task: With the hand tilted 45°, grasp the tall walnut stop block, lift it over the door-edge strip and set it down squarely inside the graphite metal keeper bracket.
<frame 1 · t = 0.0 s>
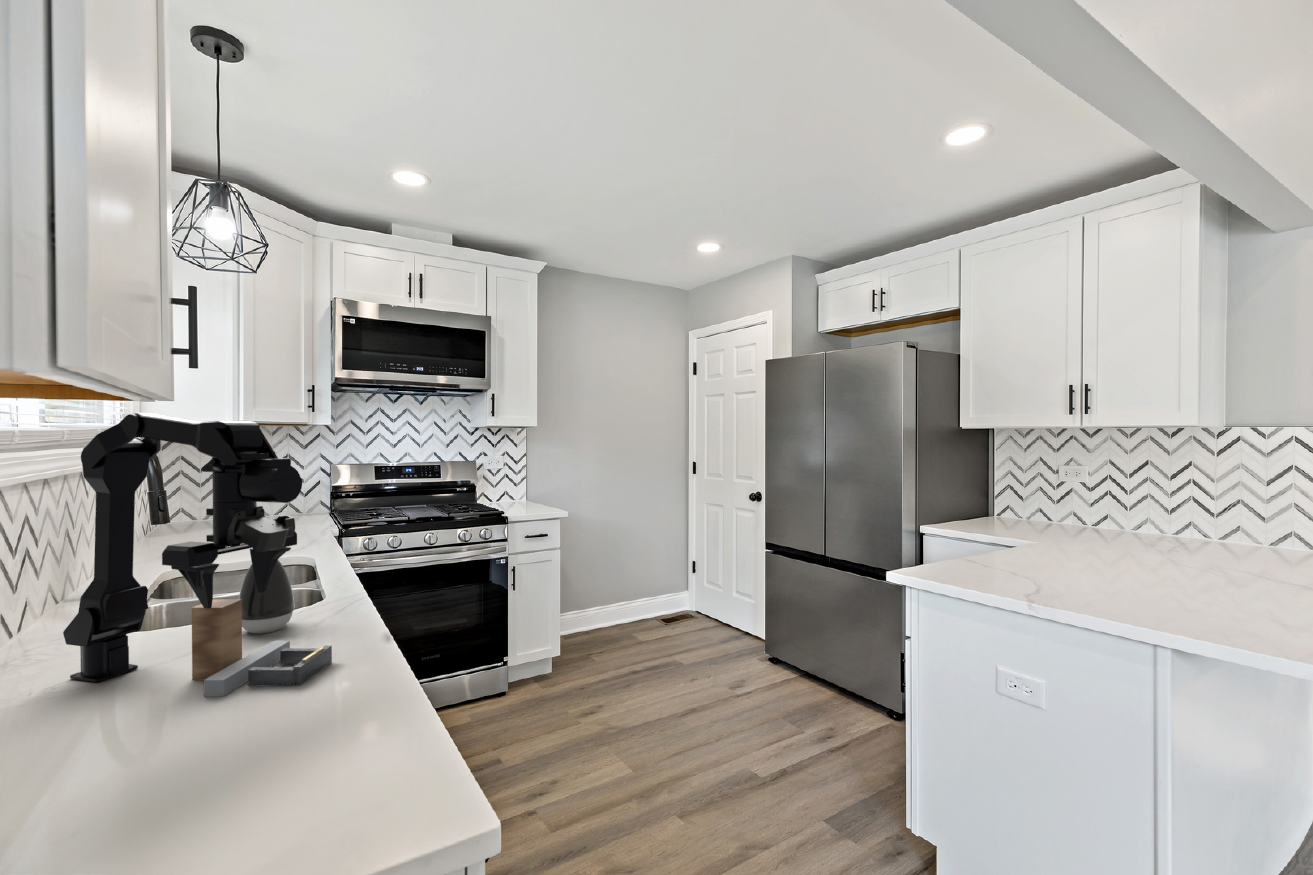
hand: (235, 600, 98), 15 cm above the counter, tool pointing down, fingers open, 9 cm apart
keeper: (286, 673, 106), on the counter
door edge: (250, 673, 106), on the counter
stop block: (217, 673, 106), on the counter
dark grey egg shape: (266, 630, 129), on the counter
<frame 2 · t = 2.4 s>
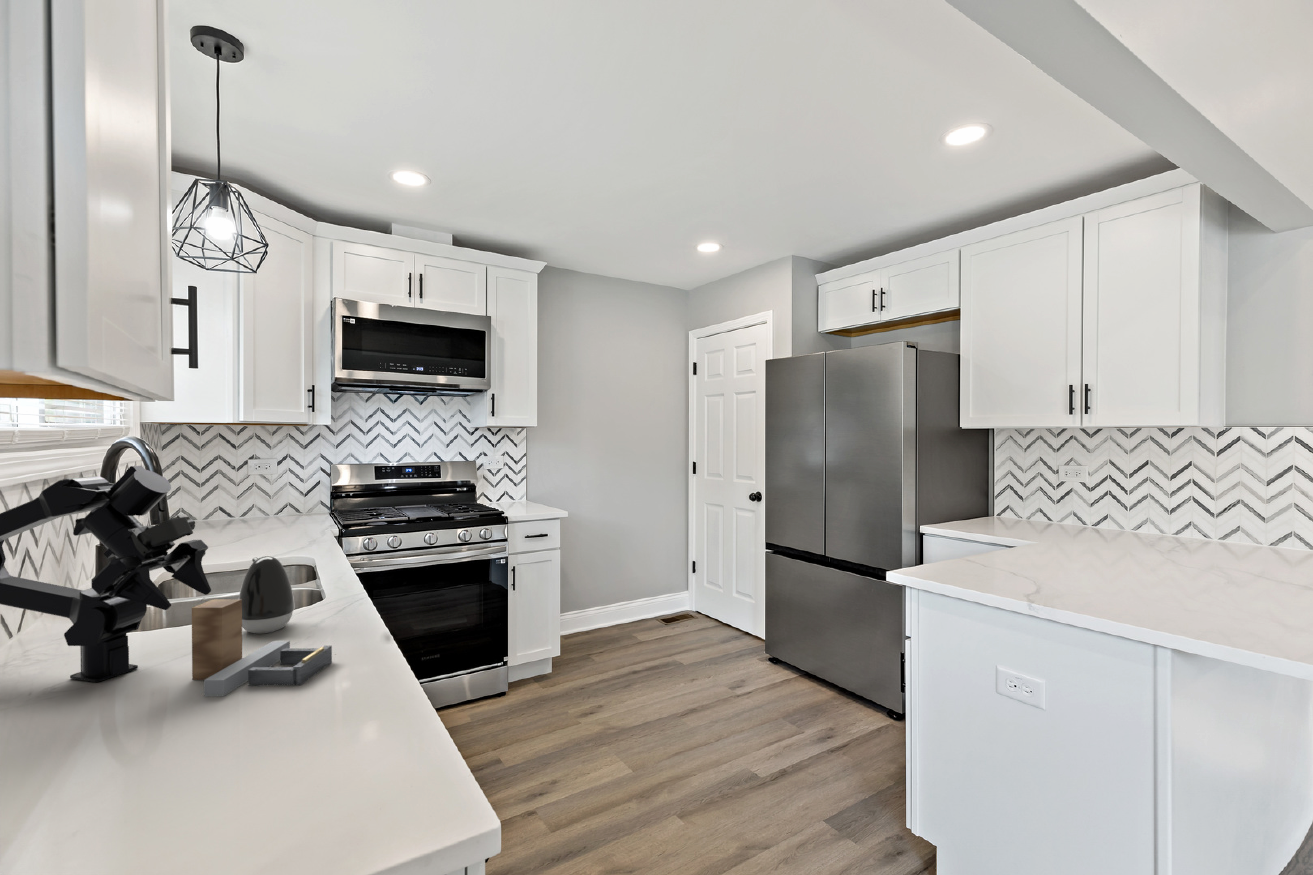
hand: (189, 600, 106), 13 cm above the counter, tool tilted 45°, fingers open, 9 cm apart
nothing on the counter moved.
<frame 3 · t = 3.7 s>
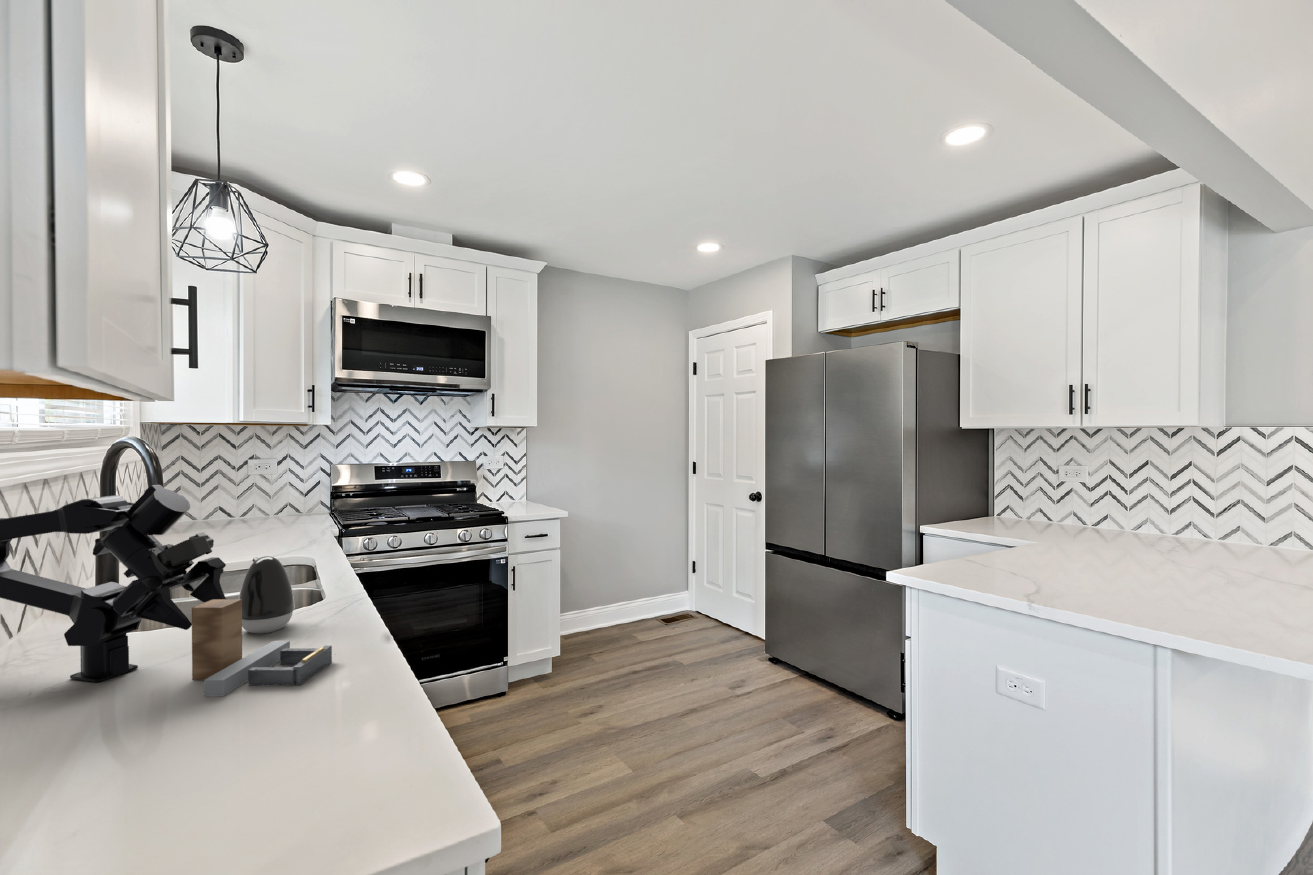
hand: (209, 618, 106), 9 cm above the counter, tool tilted 45°, fingers open, 9 cm apart
nothing on the counter moved.
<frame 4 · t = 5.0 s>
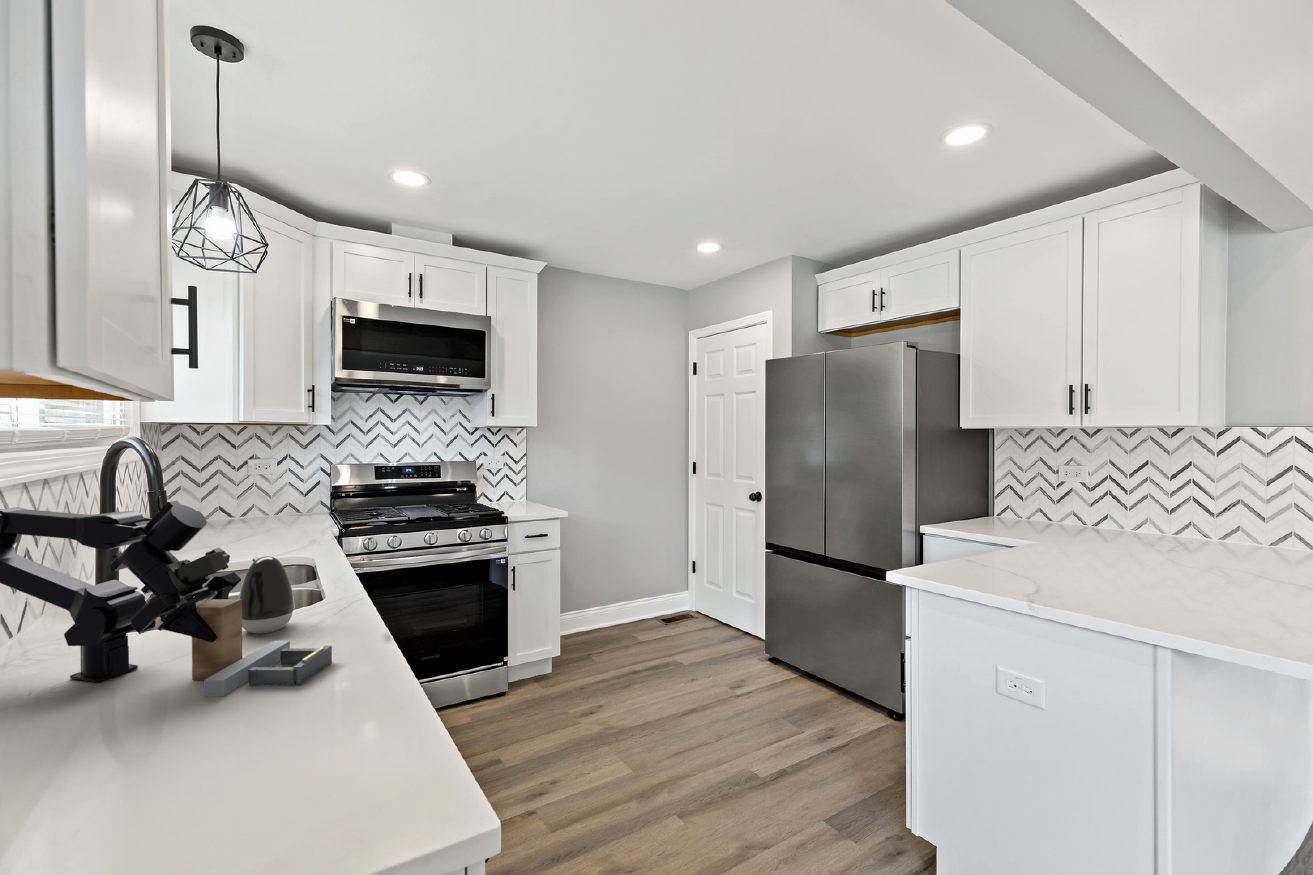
hand: (225, 634, 106), 7 cm above the counter, tool tilted 45°, fingers closed on stop block, 5 cm apart
stop block: (217, 673, 106), on the counter, touching gripper
everything else where it was.
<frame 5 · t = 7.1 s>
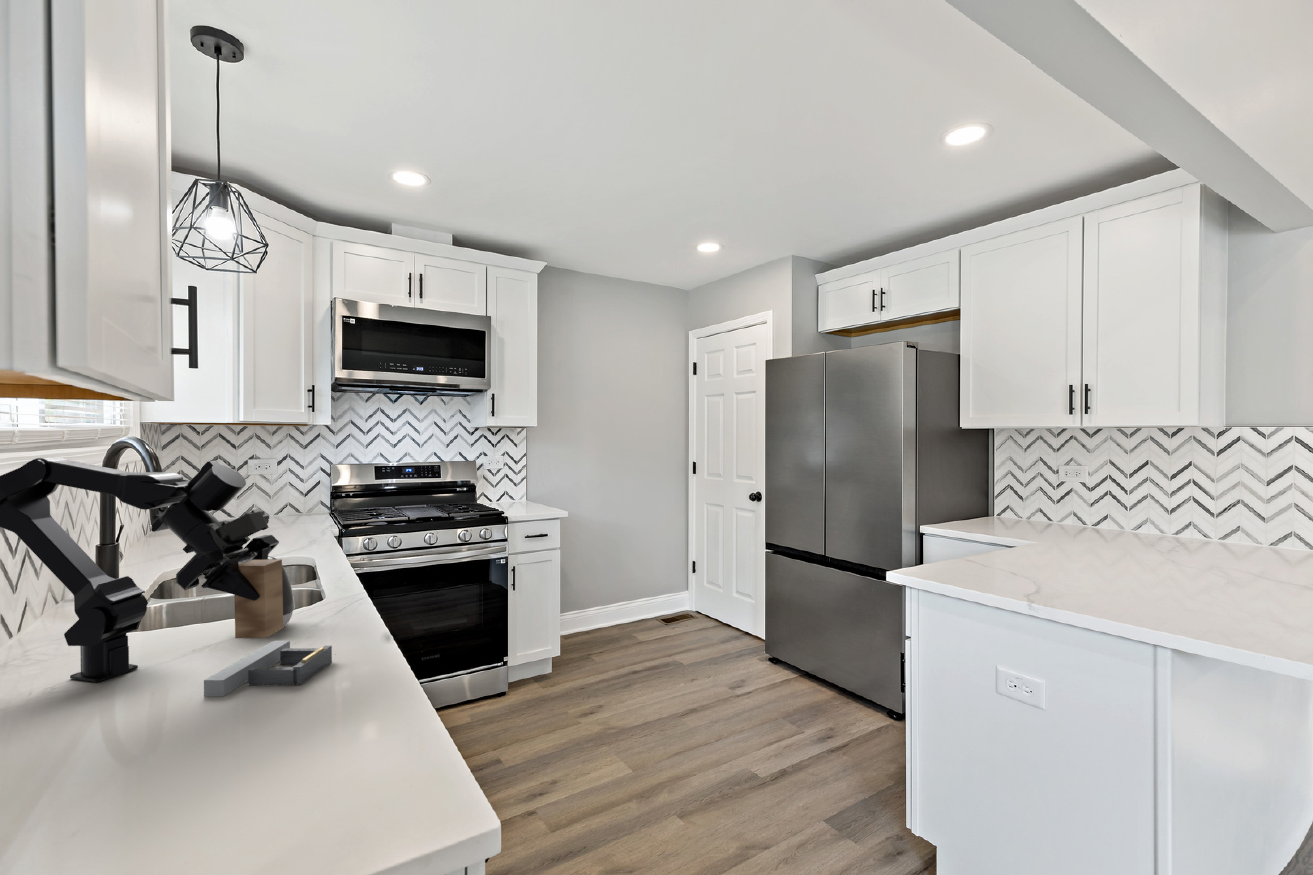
hand: (267, 594, 106), 14 cm above the counter, tool tilted 45°, fingers closed on stop block, 5 cm apart
stop block: (259, 633, 106), point 7 cm above the counter, touching gripper
everything else where it was.
when the fingers open (8 cm above the counter, at t = 9.1 s): stop block drops 1 cm, on the counter.
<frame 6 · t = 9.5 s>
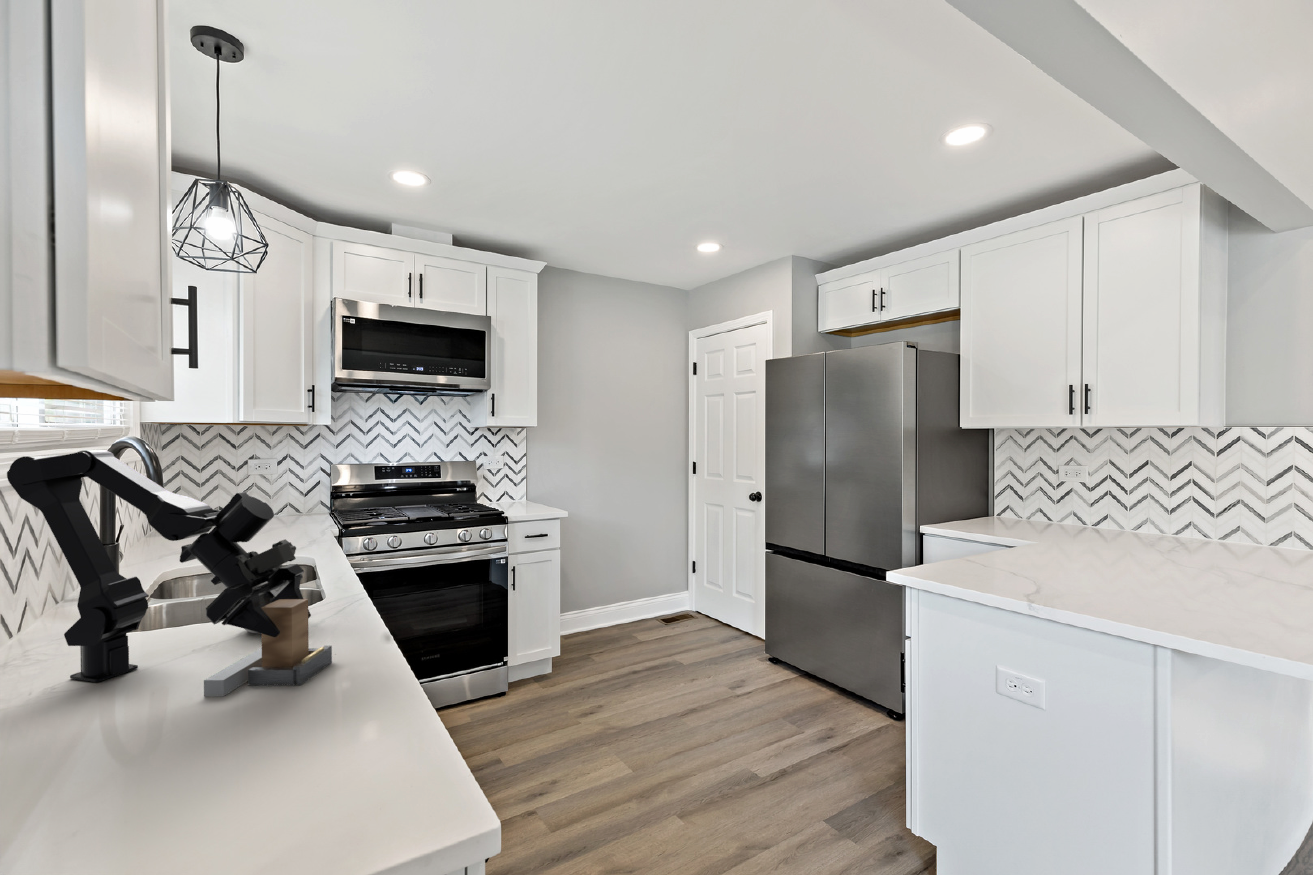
hand: (294, 626, 106), 8 cm above the counter, tool tilted 45°, fingers open, 9 cm apart
stop block: (285, 673, 106), on the counter
everything else where it was.
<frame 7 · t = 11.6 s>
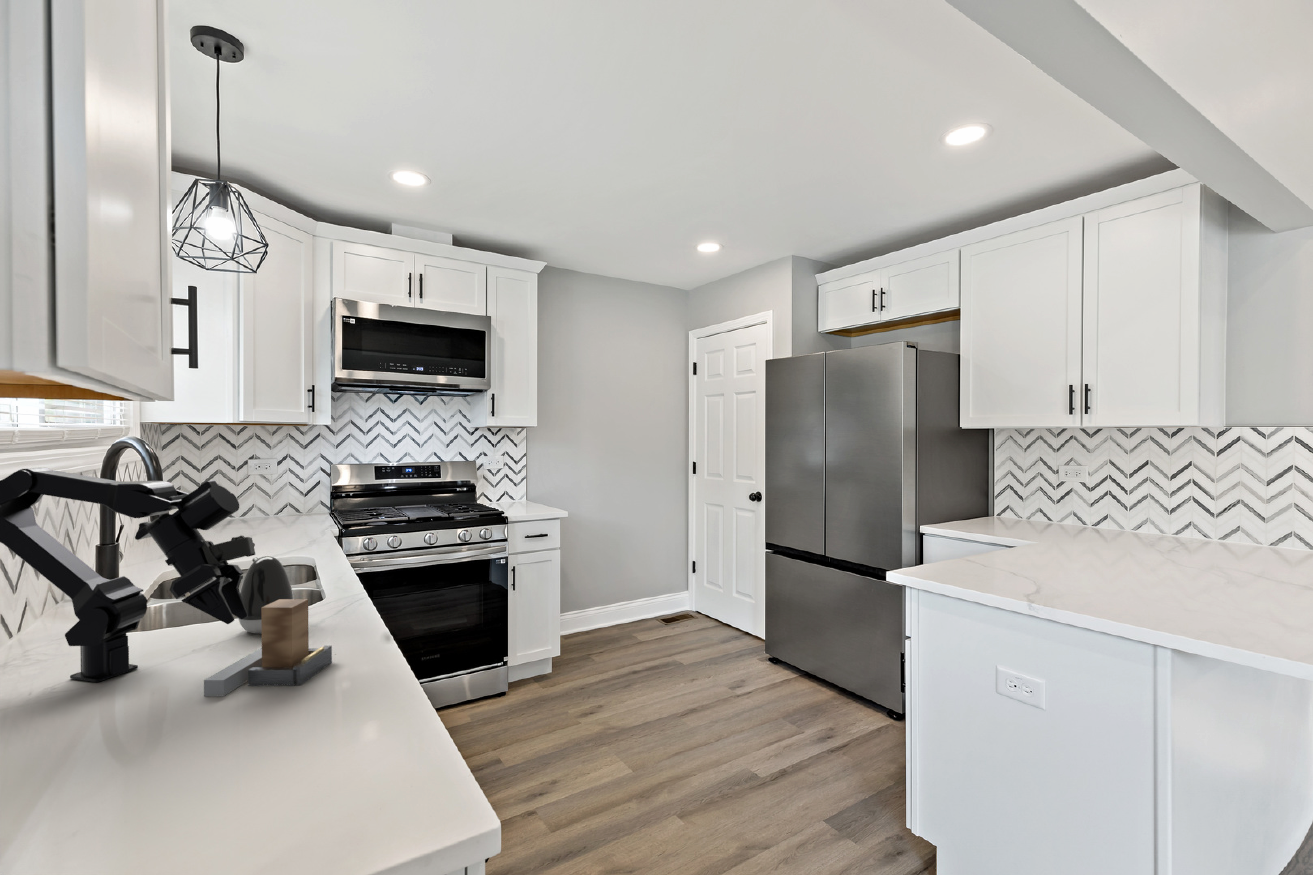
hand: (238, 619, 107), 9 cm above the counter, tool tilted 35°, fingers open, 9 cm apart
nothing on the counter moved.
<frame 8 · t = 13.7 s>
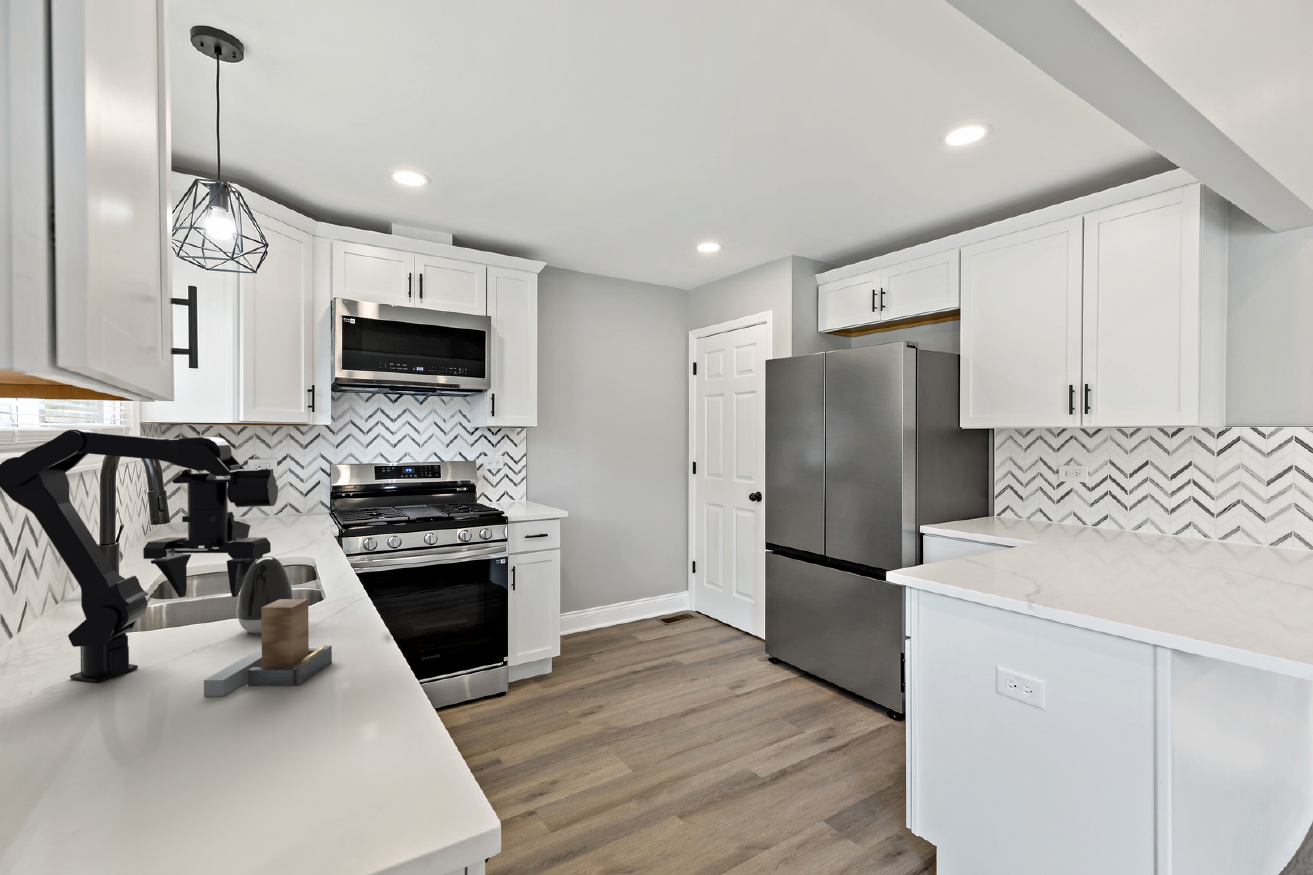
hand: (208, 596, 110), 12 cm above the counter, tool pointing down, fingers open, 9 cm apart
nothing on the counter moved.
at the end: stop block 0.0 cm off-centre on the keeper, point 0.0 cm above the keeper's base; stop block tilted 0° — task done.
